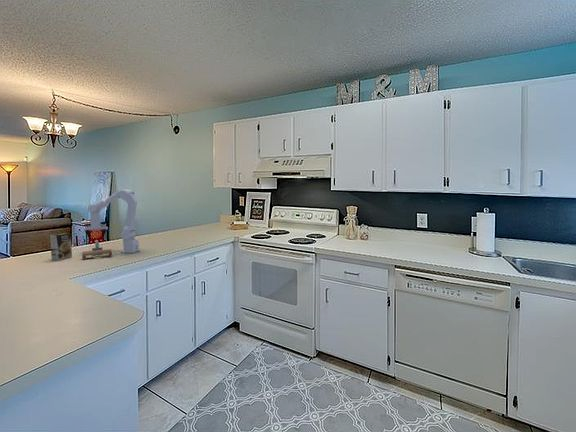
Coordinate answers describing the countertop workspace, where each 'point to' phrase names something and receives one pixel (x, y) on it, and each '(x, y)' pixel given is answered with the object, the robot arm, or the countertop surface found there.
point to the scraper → (97, 248)
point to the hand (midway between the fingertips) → (96, 240)
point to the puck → (97, 257)
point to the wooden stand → (96, 253)
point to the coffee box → (61, 246)
